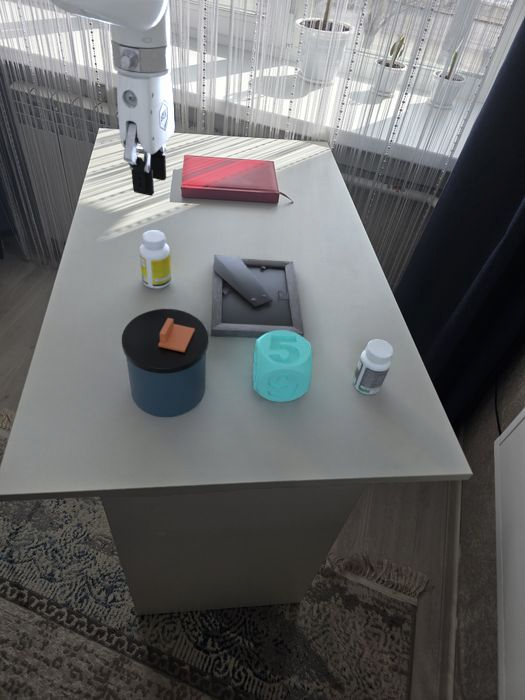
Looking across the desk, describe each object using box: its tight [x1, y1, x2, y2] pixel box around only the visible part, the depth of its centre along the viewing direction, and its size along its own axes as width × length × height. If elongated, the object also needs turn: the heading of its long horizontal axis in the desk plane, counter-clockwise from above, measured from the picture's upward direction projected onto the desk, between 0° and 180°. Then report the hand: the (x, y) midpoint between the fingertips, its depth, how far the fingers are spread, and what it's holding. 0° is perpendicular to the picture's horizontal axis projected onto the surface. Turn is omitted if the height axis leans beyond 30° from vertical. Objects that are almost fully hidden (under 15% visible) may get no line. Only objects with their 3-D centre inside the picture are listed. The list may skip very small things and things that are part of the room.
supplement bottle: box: [138, 229, 172, 290], centre depth 85 cm, size 5×5×10 cm
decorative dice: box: [252, 330, 313, 403], centre depth 72 cm, size 8×8×8 cm
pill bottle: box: [351, 338, 395, 395], centre depth 73 cm, size 5×5×8 cm
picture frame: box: [210, 254, 305, 339], centre depth 87 cm, size 16×2×21 cm
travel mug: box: [121, 308, 210, 418], centre depth 67 cm, size 12×12×11 cm
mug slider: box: [158, 318, 195, 352], centre depth 63 cm, size 4×4×2 cm
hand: (150, 184), depth 75 cm, fingers open, 4 cm apart
